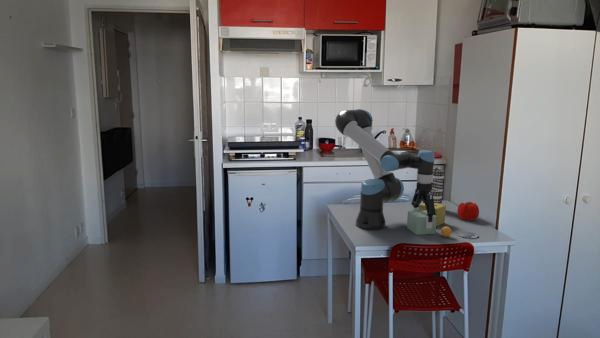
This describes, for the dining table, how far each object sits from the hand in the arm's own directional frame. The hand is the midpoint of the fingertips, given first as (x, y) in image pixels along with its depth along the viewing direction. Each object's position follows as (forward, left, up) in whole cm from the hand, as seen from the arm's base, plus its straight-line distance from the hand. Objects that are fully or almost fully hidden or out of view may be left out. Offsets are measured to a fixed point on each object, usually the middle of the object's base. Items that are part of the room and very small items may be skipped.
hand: (422, 223), depth 225 cm
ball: (+8, -10, -1) cm, 12 cm away
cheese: (+12, +11, -4) cm, 17 cm away
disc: (+20, -10, -4) cm, 22 cm away
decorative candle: (+26, +34, -4) cm, 43 cm away
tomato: (+35, +14, -4) cm, 38 cm away
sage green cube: (0, 0, -4) cm, 4 cm away
